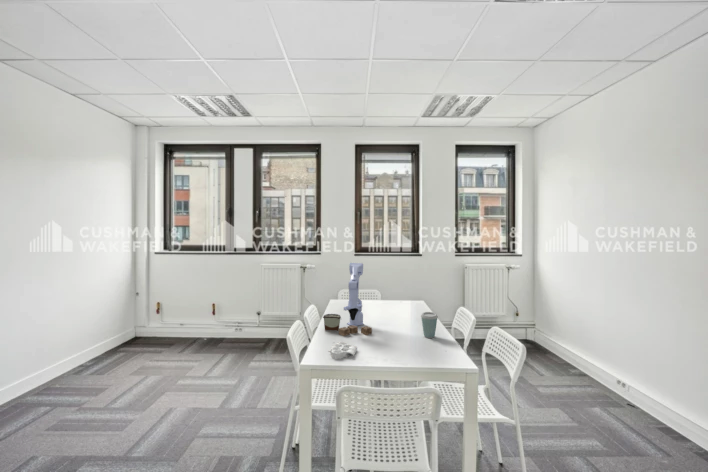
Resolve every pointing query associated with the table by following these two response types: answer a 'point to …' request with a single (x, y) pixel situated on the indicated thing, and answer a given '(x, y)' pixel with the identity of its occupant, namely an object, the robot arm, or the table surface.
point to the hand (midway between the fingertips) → (352, 319)
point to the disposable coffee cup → (429, 324)
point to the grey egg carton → (342, 350)
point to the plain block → (353, 329)
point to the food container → (331, 322)
